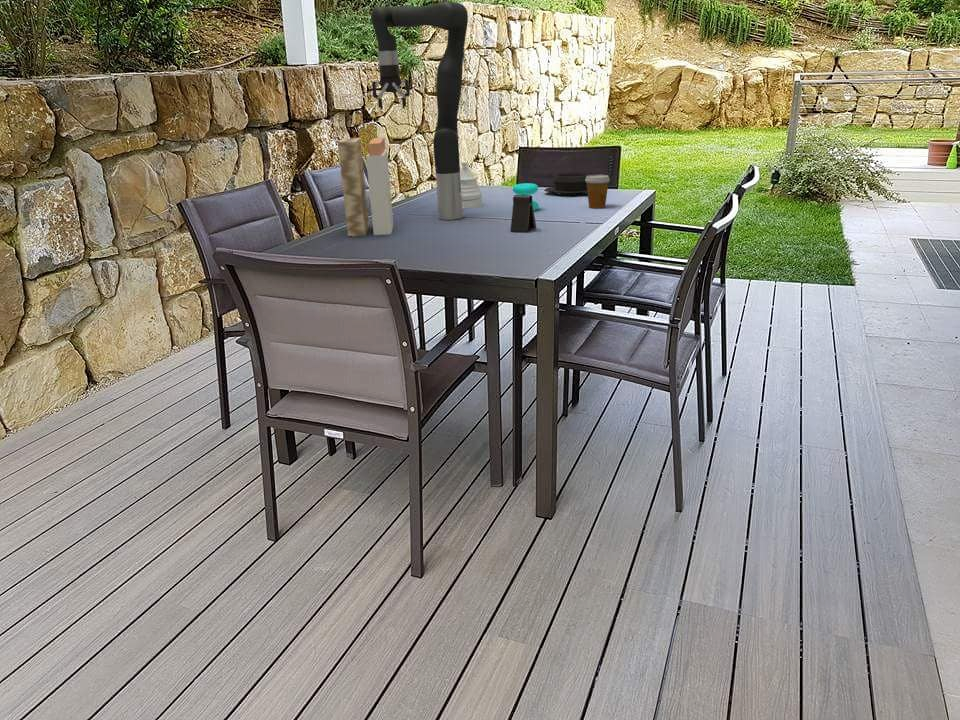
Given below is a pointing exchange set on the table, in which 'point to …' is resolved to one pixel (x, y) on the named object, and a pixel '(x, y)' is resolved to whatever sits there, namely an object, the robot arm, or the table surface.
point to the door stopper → (522, 214)
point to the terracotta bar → (376, 146)
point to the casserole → (569, 184)
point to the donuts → (527, 191)
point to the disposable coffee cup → (597, 190)
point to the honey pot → (469, 188)
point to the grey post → (380, 194)
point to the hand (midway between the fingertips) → (392, 108)
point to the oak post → (353, 186)
